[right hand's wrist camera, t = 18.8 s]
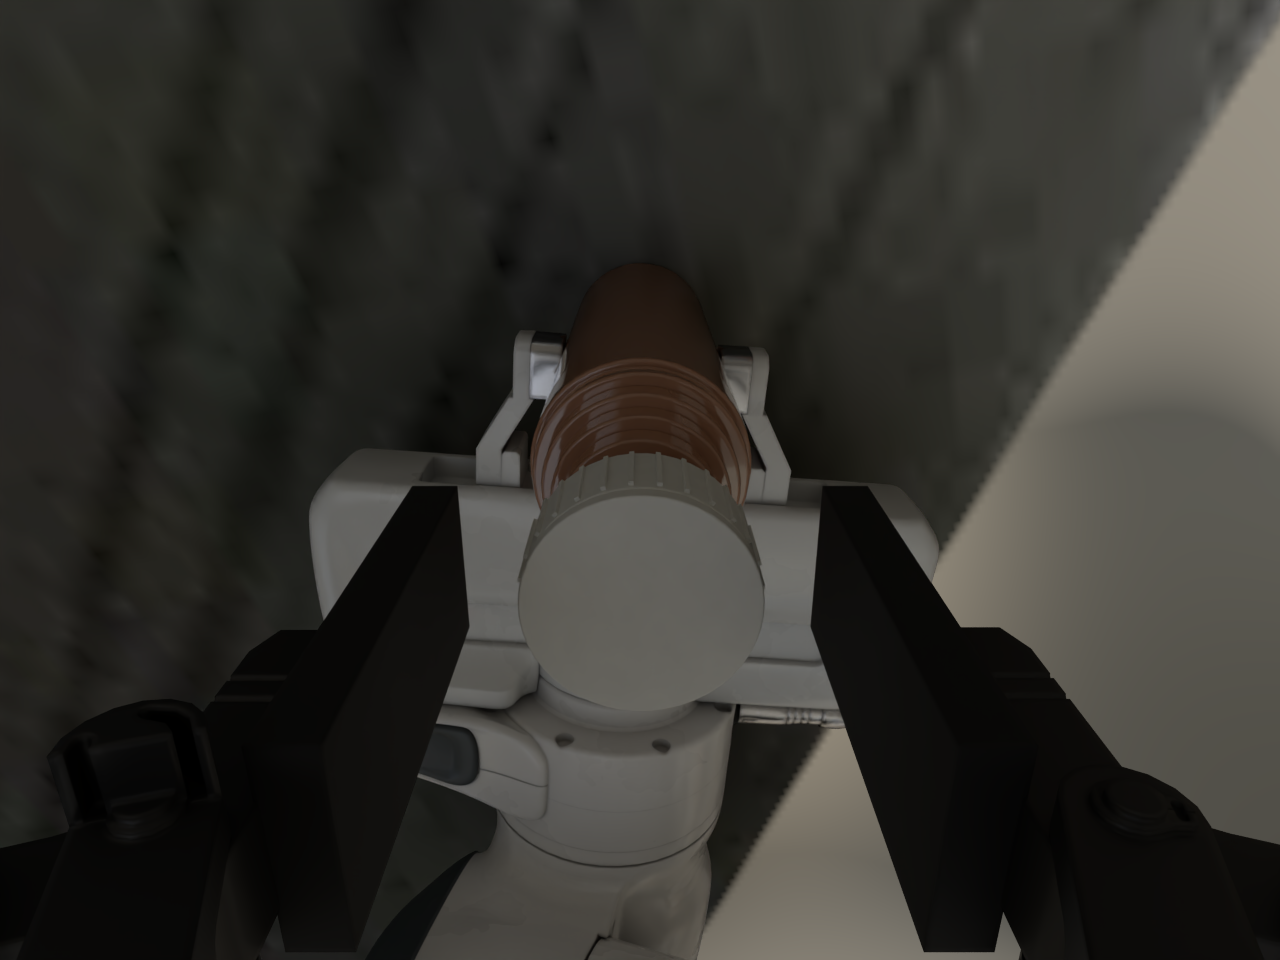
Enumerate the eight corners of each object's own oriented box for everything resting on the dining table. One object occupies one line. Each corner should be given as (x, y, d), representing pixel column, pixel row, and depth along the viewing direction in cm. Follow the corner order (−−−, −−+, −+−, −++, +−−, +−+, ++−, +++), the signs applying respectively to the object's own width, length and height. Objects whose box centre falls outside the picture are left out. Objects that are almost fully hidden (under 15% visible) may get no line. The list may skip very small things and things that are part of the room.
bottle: (621, 236, 31) (592, 385, 12) (730, 309, 32) (857, 550, 13) (552, 346, 33) (433, 628, 14) (658, 413, 34) (681, 760, 15)
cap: (652, 687, 16) (654, 754, 14) (483, 565, 15) (463, 622, 13) (800, 543, 15) (821, 597, 13) (628, 402, 14) (625, 440, 12)
